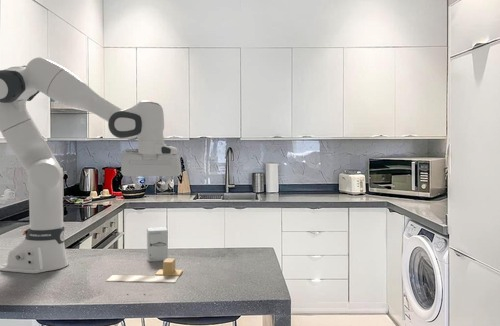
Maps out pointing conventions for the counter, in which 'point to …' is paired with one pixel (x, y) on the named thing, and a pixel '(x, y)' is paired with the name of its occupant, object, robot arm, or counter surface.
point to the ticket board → (143, 278)
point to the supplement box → (157, 243)
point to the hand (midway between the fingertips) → (151, 189)
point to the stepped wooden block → (169, 268)
